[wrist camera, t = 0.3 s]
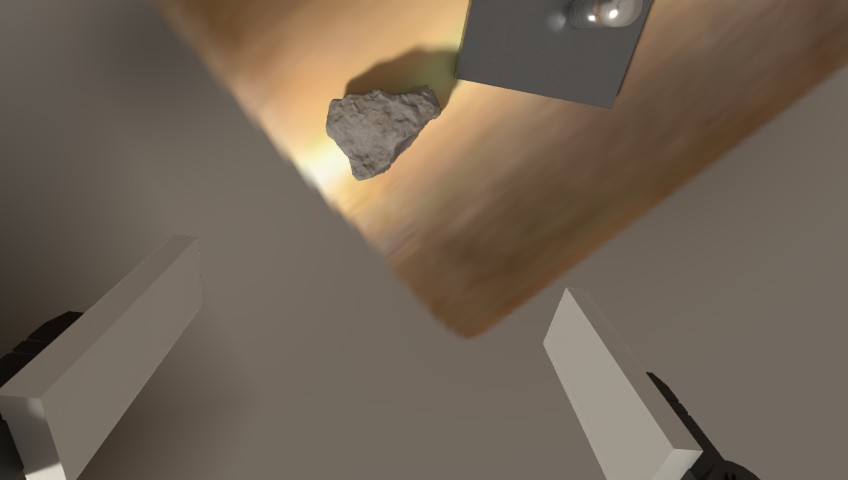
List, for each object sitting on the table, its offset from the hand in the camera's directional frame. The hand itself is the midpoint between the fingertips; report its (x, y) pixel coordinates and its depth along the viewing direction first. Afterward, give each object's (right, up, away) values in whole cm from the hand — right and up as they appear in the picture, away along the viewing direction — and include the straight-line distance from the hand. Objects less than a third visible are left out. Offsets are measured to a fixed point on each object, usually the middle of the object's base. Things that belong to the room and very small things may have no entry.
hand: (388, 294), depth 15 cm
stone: (-2, +13, +24) cm, 28 cm away
